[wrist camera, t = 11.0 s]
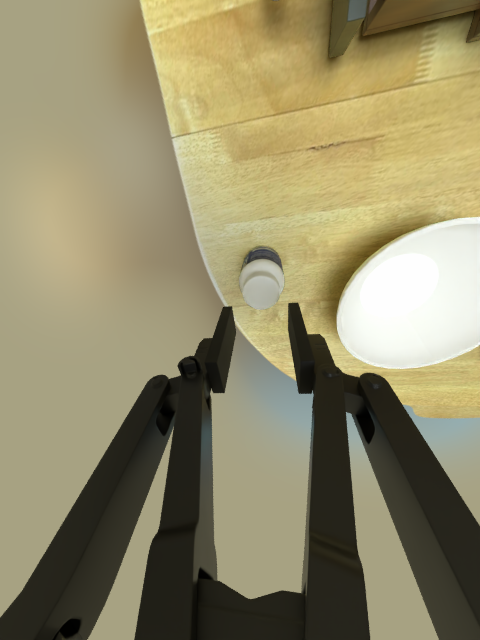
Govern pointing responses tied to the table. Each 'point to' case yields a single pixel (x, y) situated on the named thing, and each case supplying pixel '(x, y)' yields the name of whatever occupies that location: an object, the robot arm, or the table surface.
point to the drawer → (386, 16)
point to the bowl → (415, 298)
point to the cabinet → (475, 28)
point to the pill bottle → (261, 277)
